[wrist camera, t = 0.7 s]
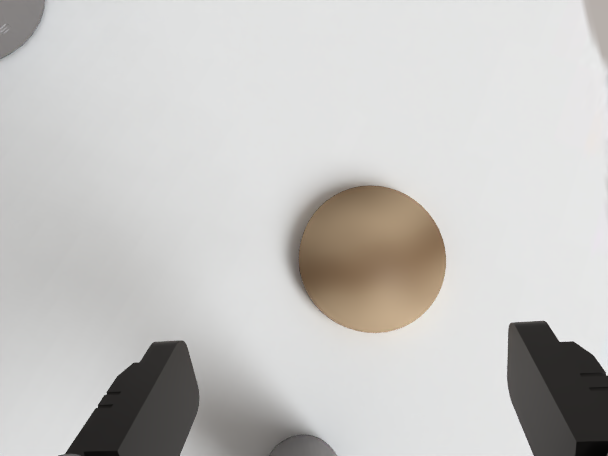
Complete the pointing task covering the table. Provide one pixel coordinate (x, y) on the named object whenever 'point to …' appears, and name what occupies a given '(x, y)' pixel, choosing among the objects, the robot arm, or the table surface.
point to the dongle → (303, 447)
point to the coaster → (372, 259)
